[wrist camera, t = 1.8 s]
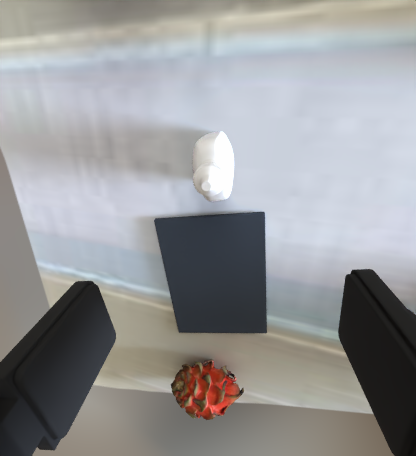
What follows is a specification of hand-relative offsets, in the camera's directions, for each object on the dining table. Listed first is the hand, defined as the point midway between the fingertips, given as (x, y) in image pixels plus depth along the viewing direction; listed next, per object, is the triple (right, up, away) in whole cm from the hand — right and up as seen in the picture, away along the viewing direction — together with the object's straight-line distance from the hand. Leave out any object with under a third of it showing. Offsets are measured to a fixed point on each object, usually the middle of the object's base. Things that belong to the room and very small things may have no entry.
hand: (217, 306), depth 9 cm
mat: (+1, -4, +26) cm, 26 cm away
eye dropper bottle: (+1, +11, +19) cm, 22 cm away
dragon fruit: (0, -22, +35) cm, 41 cm away
